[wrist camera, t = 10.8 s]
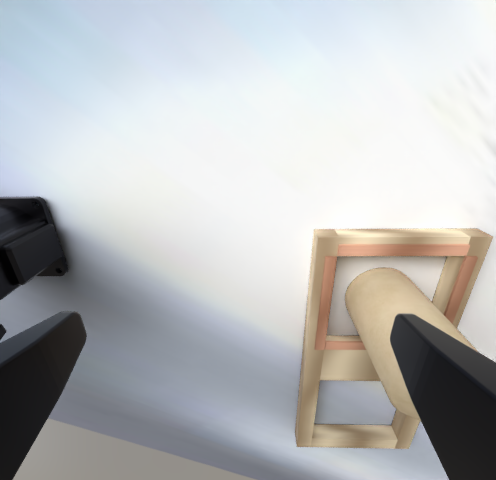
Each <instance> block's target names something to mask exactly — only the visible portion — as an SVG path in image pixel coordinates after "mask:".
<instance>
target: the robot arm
mask: <svg viewBox="0 0 496 480" xmlns="http://www.w3.org/2000/svg"><path fill="white" fill-rule="evenodd" d="M36 202H37V203H38V204H39V206H38V205H37V204H36ZM59 268H60V269H61V270H62V271H61V270H60V269H59ZM67 272H68V266H67V264H66V261H65V258H64V255H63V252H62V249H61V246H60V243H59V240H58V237H57V234H56V231H55V228H54V225H53V222H52V219H51V216H50V213H49V210H48V207H47V205H46V202H45V201H44V200H43V199H42V198H40V197H0V300H1V299H3V298H4V297H6V296H7V295H8V294H10V293H11V292H12V291H14V290H15V289H17V288H18V287H19V286H21V285H24V284H26V283H27V282H28V281H30V280H31V279H32V278H34V277H35V276H63V275H64V274H66V273H67ZM5 333H6V330H5V328H4V327H3V325H2V324H0V340H1V338H2V337H3V336H4V334H5ZM86 337H87V334H86V330H85V327H84V324H83V321H82V318H81V316H80V314H79V313H78V312H75V311H64V312H60V313H58V314H56V315H54V316H52V317H50V318H48V319H47V320H45V321H43V322H41V323H39V324H37V325H35V326H33V327H31V328H29V329H27V330H25V331H23V332H21V333H19V334H17V335H15V336H13V337H11V338H9V339H7V340H5V341H4V342H2V343H0V480H12V479H13V478H14V476H15V474H16V472H17V471H18V469H19V467H20V466H21V464H22V462H23V460H24V459H25V457H26V455H27V453H28V452H29V450H30V448H31V446H32V445H33V443H34V441H35V439H36V438H37V436H38V434H39V432H40V431H41V429H42V427H43V425H44V423H45V422H46V420H47V419H48V417H49V415H50V413H51V412H52V410H53V408H54V406H55V405H56V403H57V401H58V399H59V397H60V395H61V394H62V391H63V389H64V387H65V385H66V383H67V381H68V379H69V377H70V375H71V372H72V370H73V368H74V366H75V364H76V361H77V359H78V357H79V355H80V353H81V351H82V348H83V346H84V344H85V342H86ZM390 343H391V346H392V349H393V352H394V355H395V357H396V360H397V363H398V366H399V368H400V371H401V374H402V377H403V379H404V382H405V385H406V388H407V390H408V393H409V395H410V398H411V400H412V403H413V405H414V407H415V409H416V411H417V413H418V415H419V418H420V420H421V422H422V424H423V426H424V428H425V430H426V432H427V434H428V436H429V438H430V441H431V443H432V445H433V447H434V449H435V451H436V453H437V455H438V457H439V459H440V461H441V463H442V466H443V468H444V470H445V472H446V474H447V476H448V478H449V480H496V362H494V361H492V360H490V359H489V358H487V357H485V356H484V355H482V354H480V353H479V352H477V351H475V350H474V349H472V348H470V347H469V346H467V345H465V344H464V343H462V342H460V341H459V340H457V339H455V338H453V337H452V336H450V335H448V334H447V333H445V332H443V331H442V330H440V329H438V328H437V327H435V326H433V325H432V324H430V323H428V322H427V321H425V320H423V319H422V318H420V317H418V316H416V315H415V314H411V313H399V314H397V315H396V316H395V319H394V323H393V326H392V330H391V334H390Z"/></svg>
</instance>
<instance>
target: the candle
mask: <svg viewBox="0 0 496 480" xmlns="http://www.w3.org/2000/svg"><path fill="white" fill-rule="evenodd" d="M345 303H346V307H347V310H348V312H349V314H350V316H351V319H352V321H353V323H354V325H355V327H356V329H357V331H358V333H359V336H360V338H361V340H362V342H363V344H364V346H365V348H366V351H367V353H368V355H369V357H370V359H371V361H372V363H373V365H374V368H375V370H376V372H377V374H378V376H379V378H380V380H381V382H382V385H383V387H384V389H385V391H386V393H387V395H388V397H389V399H390V401H391V403H392V405H393V406H394V407H395V408H396V409H397V410H399V411H400V412H402V413H404V414H406V415H408V416H411V417H413V418H415V419H417V420H419V421H421V420H420V418H419V415H418V413H417V411H416V409H415V407H414V405H413V403H412V400H411V398H410V395H409V393H408V390H407V388H406V385H405V382H404V379H403V377H402V374H401V371H400V368H399V366H398V363H397V360H396V357H395V355H394V352H393V349H392V346H391V343H390V334H391V330H392V326H393V323H394V319H395V316H396V315H397V314H399V313H411V314H415V315H416V316H418V317H420V318H422V319H423V320H425V321H427V322H428V323H430V324H432V325H433V326H435V327H437V328H438V329H440V330H442V331H443V332H445V333H447V334H448V335H450V336H452V337H453V338H455V339H457V340H459V341H460V342H462V343H464V344H465V345H467V346H469V347H470V348H472V349H474V350H475V351H477V350H476V349H475V348H474V347H473V346H472V345H471V343H470V342H469V341H468V340H467V339H466V338H465V337H464V336H463V335H462V334H461V333H460V332H459V331H458V330H457V329H456V327H455V326H454V325H453V324H452V323H451V322H450V321H449V320H448V319H447V318H446V317H445V316H444V315H443V314H442V313H441V312H440V310H439V309H438V308H437V307H436V306H435V305H434V304H433V303H432V302H431V301H430V300H429V299H428V298H427V297H426V296H425V295H424V293H423V292H422V291H421V290H420V289H419V288H418V287H417V286H416V285H415V284H414V283H413V282H412V281H411V280H410V279H409V278H408V277H407V276H406V275H405V274H403V273H402V272H400V271H398V270H396V269H392V268H375V269H371V270H368V271H366V272H364V273H362V274H360V275H359V276H358V277H356V278H355V279H354V280H353V281H352V282H351V284H350V285H349V287H348V288H347V291H346V294H345ZM477 352H478V351H477Z"/></svg>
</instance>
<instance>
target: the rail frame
mask: <svg viewBox="0 0 496 480" xmlns="http://www.w3.org/2000/svg"><path fill="white" fill-rule="evenodd" d="M492 238H493V237H492V236H491V235H489V234H487V233H485V232H483V231H481V230H479V229H314V235H313V246H312V256H311V267H310V278H309V288H308V299H307V310H306V320H305V331H304V342H303V352H302V363H301V374H300V384H299V395H298V406H297V416H296V427H295V436H296V444H297V447H339V448H394V449H409V447H410V445H411V442H412V440H413V437H414V434H415V432H416V429H417V427H418V424H419V422H420V421H419V420H417V419H415V418H413V417H411V416H408V415H406V414H404V413H402V412H400V411H399V410H397V409H396V412H395V416H394V419H393V422H392V425H334V424H314V419H315V412H316V405H317V398H318V391H319V383H320V380H342V381H381V380H380V378H379V376H378V374H377V372H376V370H375V368H374V365H373V363H372V361H371V359H370V357H369V355H368V353H367V351H366V348H365V346H364V344H363V342H362V340H361V338H360V336H332V335H326V334H327V327H328V320H329V313H330V306H331V298H332V291H333V284H334V277H335V270H336V262H337V256H447V258H446V261H445V264H444V268H443V271H442V274H441V277H440V280H439V283H438V286H437V289H436V292H435V295H434V298H433V301H432V303H433V304H434V305H435V306H436V307H437V308H438V309H439V310H440V312H441V313H442V314H443V315H444V316H445V317H446V318H447V319H448V320H449V321H450V322H451V323H452V324H453V325H454V326H455V327H456V329H457V326H458V324H459V321H460V319H461V316H462V314H463V311H464V309H465V306H466V304H467V301H468V299H469V296H470V294H471V291H472V289H473V286H474V284H475V281H476V279H477V276H478V274H479V271H480V269H481V266H482V264H483V261H484V259H485V256H486V254H487V251H488V249H489V246H490V243H491V241H492Z"/></svg>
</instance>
